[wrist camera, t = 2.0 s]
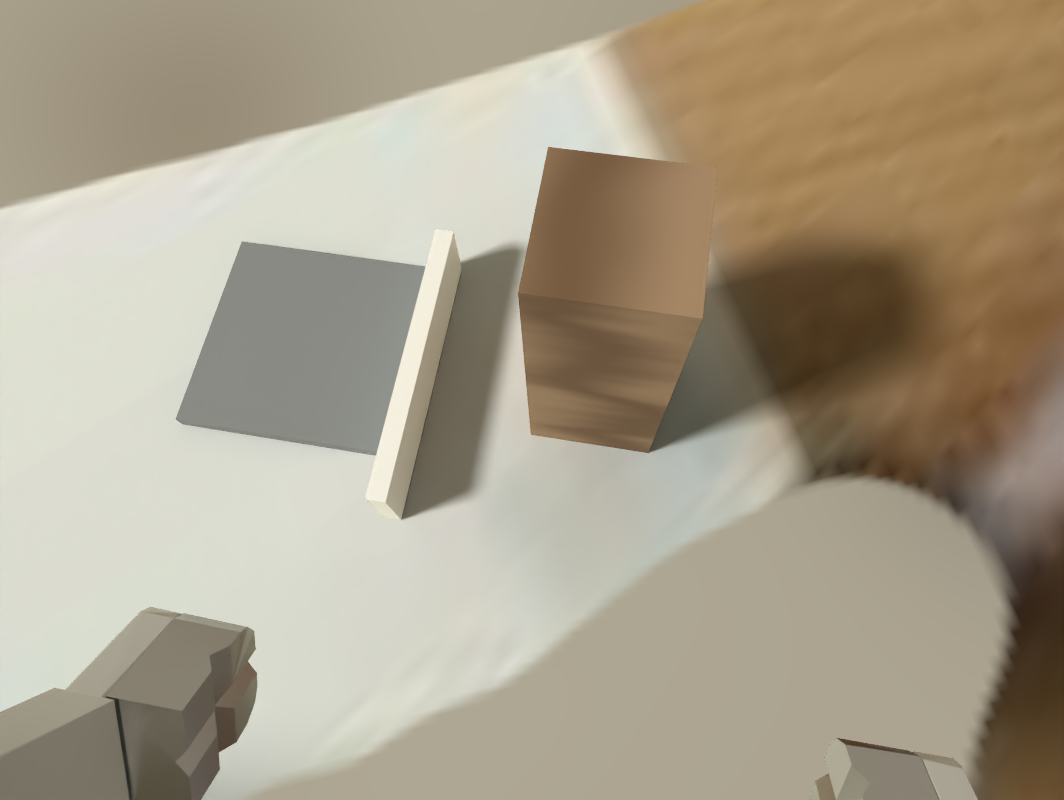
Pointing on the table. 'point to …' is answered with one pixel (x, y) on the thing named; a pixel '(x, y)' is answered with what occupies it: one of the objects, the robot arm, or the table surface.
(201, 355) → the coaster
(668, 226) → the walnut block
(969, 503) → the table surface
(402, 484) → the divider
